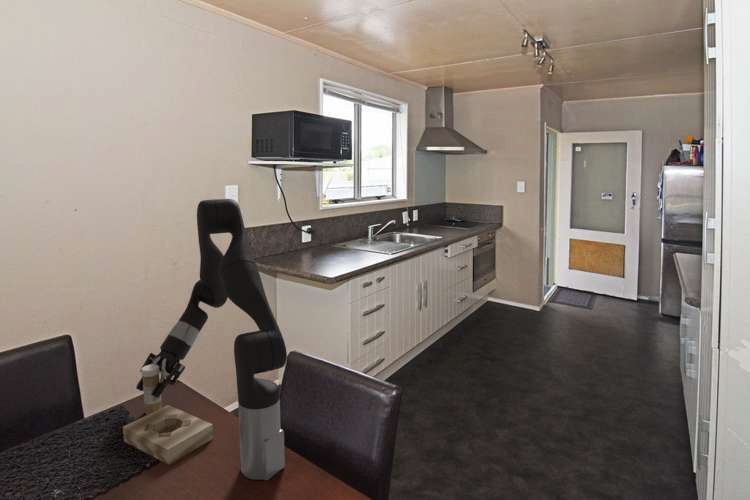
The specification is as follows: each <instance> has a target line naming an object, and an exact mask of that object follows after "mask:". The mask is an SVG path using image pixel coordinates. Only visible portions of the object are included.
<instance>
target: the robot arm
mask: <svg viewBox="0 0 750 500" xmlns="http://www.w3.org/2000/svg"><path fill="white" fill-rule="evenodd" d="M243 219H244V217H243V214H242V211H241V207H240V205H239V203H238V202H237V201H236V200H235V199H233V198H220V199H204V200H201V201H200V202H199V203H198V205H197V209H196V221H197V222H196V223H197V237H198V247H199V255H200V264H199V280H198V281H196V282H195V284H194V285H193V288H192V291H191V294H190V297H189V300H188V303H187V306H186V308H185V310H184V311H183V313H182V315H181V317H180V318H179V319H178V321H177V322H176V323H175V324H174V326H173V327H172V329H170V331H169V332H168V334H167V336H166V337H165V339H164V340H163V342H162V344H161V345H160V352H159V353H157V354H154V353H153V352H150V353H149V355H148V356H147V357H146V359H145V361H144V363H143V365H142V367H141V368H140V370H139V371H140V373H141V369H142V368H143V367H144V366H147V365H152V364H155V365H158V366H159V371H160V372H159V375H160V377H159V380H160V383H159V382H158V384H157V385H156V387H155V389H154V390H153V392H152V393H151V395H152V396H154V397H156V398H158V397H159V396H160V395H161V396H162V393H163V391H164V390H165V388H166V387H167V386H169V385H171V386H174V385H175V383H176V382H177V380H179V378H180V376H181V375H182V374H183V372H184V370H185V369H186V366H185V365H184V364H182V363H180V362H181V361H183V360H184V359H185V358H186V356H187V355H188V353H189V351H190V349H191V348H192V347H193V345H194V344H195V342H196V340H197V338H198V336H199V334H200V332H201V330H202V329H203V328H204V326H205V324H206V323H207V322H208V319H209V315H208V313H207V312H206V311H205V310H203V309H202V308H201V307H200V303H202V304H204V305H207V306H209V307H211V308H215V309H217V308H219V309H220V308H221V307H223V306H224V305H225V304H226V302H227V301H228V299H229V300H230V301H231V303H233V304H234V305H235V306H237V307H238V308H239V309H240V310H241V311H243V312H245V313H246V314H247V315H248V316H249V317H250V318H251V319H252V321H253V322H254V323H255V324H256V326H257V329H259V330H255V331H251V332H250V331H249V332H245V333H240V334H238V335H237V336H235V340H234V344H233V356H234V364H235V365H234V366H235V375H236V389H237V406H238V407H237V408H238V427H239V454H240V472H241V474H242V476H244V477H245V478H247V479H250V480H257V481H258V480H264V481H265V482H266V481H269V480H270V479H271V478H272V477H274V476H275V475H276V474H277V473H279V472H280V471H282V470H283V469H284V468H286V467H285V465H286V464H285V463H286V462H285V461H286V460H285V431H284V430H283V429H282V428H281V395H280V387H279V385H278V384H277V383H276V382H275V381H272V380H270V379H265V378H258V377H255V375H257V374H261V373H268V372H271V371H276V370H279V369H281V368H283V367H284V366H285V365H286V364H287V359H288V358H287V357H288V353H287V347H286V342H285V339H284V338H283V337H284V336H283V334H282V332H281V329H280V326H279V325H278V323H277V320H276V318H275V315H274V313H273V312H272V309H271V307H270V304H269V301H268V297H267V296H266V291H265V288H264V285H263V281H262V278H261V275H260V271H259V268H258V266H257V263H256V260H255V257H254V254H253V252H252V249H251V246H250V243H249V240H248V237H247V236H248V235H247V232H246V231H247V230H246V227H245V224H244V220H243ZM227 233H228V234H229V233H230V235H231V241H230V244H229V245H228V248H227V249H226V251H225V253H223V252H222V251H221V250H220V248H219V247H218V246H217V245H216V243H215V242H214V241H213V239H212V237H211V235H215V234H216V235H217V234H227ZM136 389H137V390H138V391H141V392H144V391H143V377H142V376H141V378H140V379H139V381H138V382H137V385H136Z"/></svg>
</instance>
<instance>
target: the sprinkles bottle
mask: <svg viewBox="0 0 750 500" xmlns="http://www.w3.org/2000/svg"><path fill="white" fill-rule="evenodd" d="M141 368H142V367H141ZM141 368H140V370H141V372H140V374H141V378H142V377H143V391H142V392H143V402H144V413H145V414H146V415H149V414H151V413H153V412H155V411H157V410H159V409H161V408H163V407H162V394H161V395H160V396H159V397H158V398H156V397H154V396H152V395H151V393H152V392H153V390H154V389H155V387H156V385H157V384H158V382H159V383H160V373H161V372H160V371H159V366H158V365H155V364H152V365H147V366H144V367H143V368H142V369H141Z"/></svg>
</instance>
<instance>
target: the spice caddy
mask: <svg viewBox="0 0 750 500" xmlns="http://www.w3.org/2000/svg"><path fill="white" fill-rule="evenodd" d="M122 431H123V433H122V434H123V441H124V442H125V443H127V444H128V445H130V446H133V447H134V448H136V449H137V450H140V451H141V452H143V453H145V454H147V455H149V456H151V457H153V458H155V459H157V460H158V459H159V461H160V462H162V463H164V464H166V465H168V466H169V465H171V464H173V463H174V462H176V461H178V460H180V459H181V458H183V457H185V456H186V455H188V454H190V453H191V452H193V451H194V450H196V449H198V448H200V447H201V446H203V445H205V444H207V443H209V441H211V440H213V439H214V429H213V423H210V422H208V421H205V420H204V419H201V418H199V417H197V416H195V415H193V414H190V413H187V412H186V411H183V410H180V409H178V408H176V407H173V406H171V405H170V404H169V405H165V406H163V407H162V408H161V409H159V410H157V411H155V412H153V413H151V414H149V415H148V414H146V415H144V416H143V417H140V418H138V419H136V420H134V421H132V422H130V423H128V424H125V425H123V426H122Z"/></svg>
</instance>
